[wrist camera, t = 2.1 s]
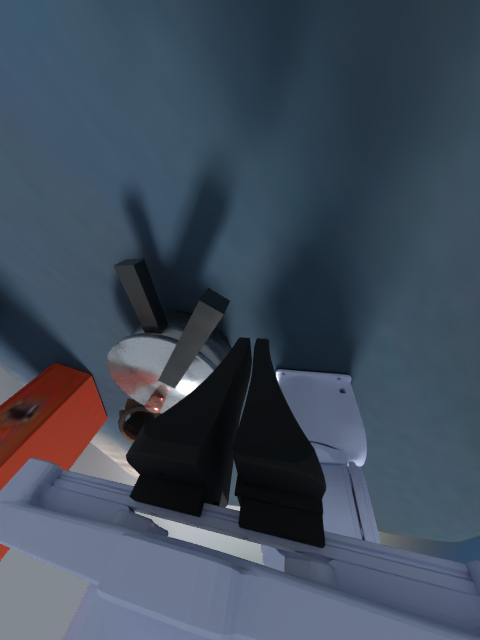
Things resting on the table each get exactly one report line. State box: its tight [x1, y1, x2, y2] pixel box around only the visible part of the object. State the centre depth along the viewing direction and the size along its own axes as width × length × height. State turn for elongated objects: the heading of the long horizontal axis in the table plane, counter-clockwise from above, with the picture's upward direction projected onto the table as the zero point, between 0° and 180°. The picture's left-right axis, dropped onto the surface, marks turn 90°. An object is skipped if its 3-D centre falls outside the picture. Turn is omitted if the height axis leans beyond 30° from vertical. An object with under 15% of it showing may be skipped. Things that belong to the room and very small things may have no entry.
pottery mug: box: [118, 399, 161, 442], centre depth 39 cm, size 12×10×8 cm
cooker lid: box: [107, 288, 230, 414], centre depth 22 cm, size 22×15×2 cm, turn 150°
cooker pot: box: [114, 259, 231, 366], centre depth 26 cm, size 24×14×5 cm, turn 5°
